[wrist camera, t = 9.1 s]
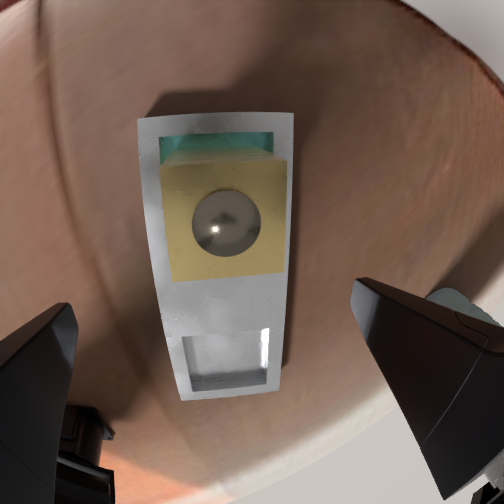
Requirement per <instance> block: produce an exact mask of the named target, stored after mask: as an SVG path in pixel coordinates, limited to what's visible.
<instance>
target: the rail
mask: <svg viewBox="0 0 504 504" xmlns="http://www.w3.org/2000/svg"><path fill="white" fill-rule="evenodd" d="M293 126H294V113H281V112H218V113H196V114H181V115H169V116H158V117H149V118H140V119H137V127H138V146H139V161H140V173H141V184H142V194H143V204H144V213H145V221H146V229H147V236H148V243H149V250H150V257H151V263H152V269H153V275H154V281H155V287H156V292H157V298H158V303H159V308H160V313H161V318H162V323H163V328H164V332H165V337H166V342H167V346H168V350H169V355H170V359H171V363H172V367H173V371H174V375H175V379H176V383H177V386H178V390H179V394H180V397H181V400H198V399H211V398H222V397H232V396H240V395H249V394H256V393H264V392H270V391H277V390H279V384H280V373H281V362H282V350H283V337H284V325H285V311H286V296H287V281H288V264H289V246H290V225H291V201H292V171H293ZM229 146H257V147H259V148H262V149H264V150H266V151H268V152H270V153H272V154H275V155H277V156H279V157H281V158H283V159H285V160H287V202H286V234H285V260H284V272H282V273H272V274H261V275H251V276H240V277H229V278H217V279H205V280H193V281H181V282H172V277H171V270H170V263H169V255H168V248H167V240H166V232H165V223H164V214H163V204H162V194H161V183H160V171H159V167H160V166H161V165H162V163H163V162H164V161H165V160H166V158H167V157H168V156H169V155H170V154H171V152H172V151H173V150H181V149H194V148H209V147H229Z"/></svg>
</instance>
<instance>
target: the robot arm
mask: <svg viewBox="0 0 504 504" xmlns="http://www.w3.org/2000/svg"><path fill="white" fill-rule="evenodd" d="M350 305H351V308H352V311H353V313H354V315H355V318H356V320H357V322H358V325H359V327H360V330H361V332H362V334H363V337H364V339H365V341H366V343H367V345H368V347H369V349H370V351H371V353H372V355H373V357H374V359H375V360H376V362H377V364H378V366H379V368H380V370H381V372H382V373H383V375H384V377H385V379H386V381H387V383H388V385H389V387H390V389H391V391H392V393H393V394H394V396H395V398H396V400H397V402H398V404H399V406H400V408H401V410H402V412H403V414H404V416H405V418H406V420H407V422H408V424H409V426H410V428H411V430H412V432H413V435H414V437H415V439H416V441H417V443H418V445H419V447H420V449H421V452H422V454H423V456H424V458H425V460H426V462H427V465H428V467H429V469H430V471H431V473H432V476H433V478H434V480H435V482H436V485H437V487H438V489H439V492H440V494H441V496H442V498H443V500H446V499H447V498H449V497H451V496H452V495H454V494H455V493H457V492H458V491H460V490H462V489H463V488H464V487H466V486H467V485H469V484H470V483H472V482H473V481H474V480H476V479H477V478H478V477H480V476H481V475H482V474H485V475H486V477H487V479H488V480H489V482H488V483H487V484H485V485H484V486H483V487H482V488H480V489H479V490H478V491H477V492H475V493H474V494H473V497H472V501H471V504H504V327H501V326H498V325H495V324H491V323H488V322H485V321H482V320H479V319H477V318H474V317H471V316H468V315H466V314H463V313H460V312H458V311H453V310H452V309H450V308H447V307H445V306H442V305H439V304H437V303H434V302H432V301H429V300H426V299H424V298H421V297H418V296H416V295H413V294H411V293H408V292H405V291H403V290H400V289H397V288H395V287H392V286H389V285H387V284H384V283H381V282H378V281H376V280H373V279H370V278H368V277H363V278H357V279H355V281H354V283H353V288H352V294H351V299H350ZM77 337H78V323H77V321H76V318H75V315H74V312H73V309H72V306H71V305H70V304H69V303H67V302H65V303H57V304H55V305H54V306H52V307H51V308H49V309H47V310H46V311H44V312H43V313H41V314H40V315H38V316H37V317H35V318H34V319H32V320H31V321H29V322H28V323H26V324H25V325H23V326H22V327H20V328H19V329H17V330H16V331H14V332H13V333H11V334H10V335H8V336H7V337H6V338H4V339H3V340H1V341H0V504H115V486H114V471H113V470H110V469H109V470H108V469H105V468H102V467H99V463H100V455H101V447H102V440H113V438H114V437H113V435H112V433H111V432H110V430H109V429H108V427H107V425H106V424H105V422H104V421H103V419H102V417H101V416H100V414H99V412H98V411H97V410H96V409H94V408H84V407H72V406H65V405H66V400H67V395H68V390H69V385H70V381H71V376H72V372H73V365H74V358H75V351H76V344H77Z"/></svg>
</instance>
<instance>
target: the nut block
mask: <svg viewBox="0 0 504 504" xmlns="http://www.w3.org/2000/svg"><path fill="white" fill-rule="evenodd" d="M159 171H160V183H161V194H162V204H163V214H164V223H165V232H166V240H167V248H168V255H169V263H170V270H171V277H172V282H181V281H193V280H205V279H217V278H229V277H240V276H251V275H261V274H272V273H282V272H284V260H285V234H286V202H287V160H285V159H283V158H281V157H279V156H277V155H275V154H272V153H270V152H268V151H266V150H264V149H262V148H259V147H257V146H229V147H209V148H194V149H181V150H173V151H172V152H171V154H170V155H169V156H168V157H167V158H166V160H165V161H164V162H163V163H162V165H161V166H160V167H159Z"/></svg>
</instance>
